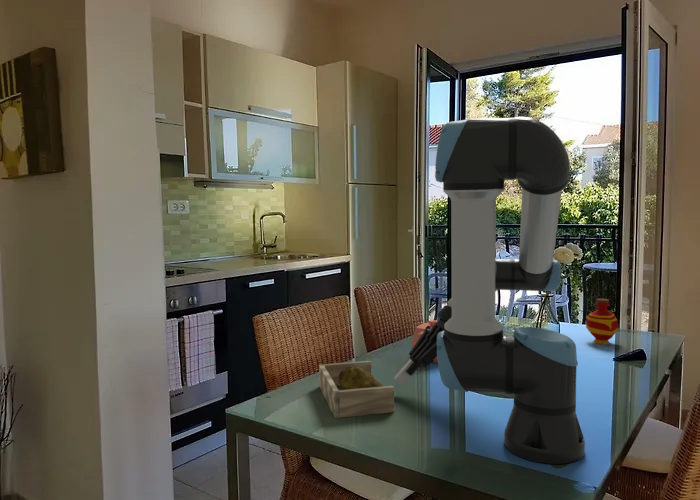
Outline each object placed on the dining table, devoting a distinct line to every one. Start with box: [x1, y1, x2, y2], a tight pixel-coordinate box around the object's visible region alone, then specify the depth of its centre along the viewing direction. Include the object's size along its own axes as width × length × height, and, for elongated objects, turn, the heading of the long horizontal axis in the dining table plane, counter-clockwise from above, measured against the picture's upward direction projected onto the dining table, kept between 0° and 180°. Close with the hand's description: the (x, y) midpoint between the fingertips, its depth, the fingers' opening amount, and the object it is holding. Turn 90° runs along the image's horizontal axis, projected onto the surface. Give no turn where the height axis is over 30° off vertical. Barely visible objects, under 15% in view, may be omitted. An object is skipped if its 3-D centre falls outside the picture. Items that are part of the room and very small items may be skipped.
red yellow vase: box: [584, 298, 619, 345], centre depth 186 cm, size 10×10×15 cm
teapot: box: [411, 319, 438, 364], centre depth 171 cm, size 20×12×12 cm, turn 145°
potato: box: [339, 366, 384, 390], centre depth 135 cm, size 8×13×8 cm, turn 35°
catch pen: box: [318, 360, 395, 419], centre depth 137 cm, size 22×14×6 cm, turn 12°
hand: (397, 382), depth 139 cm, fingers closed
